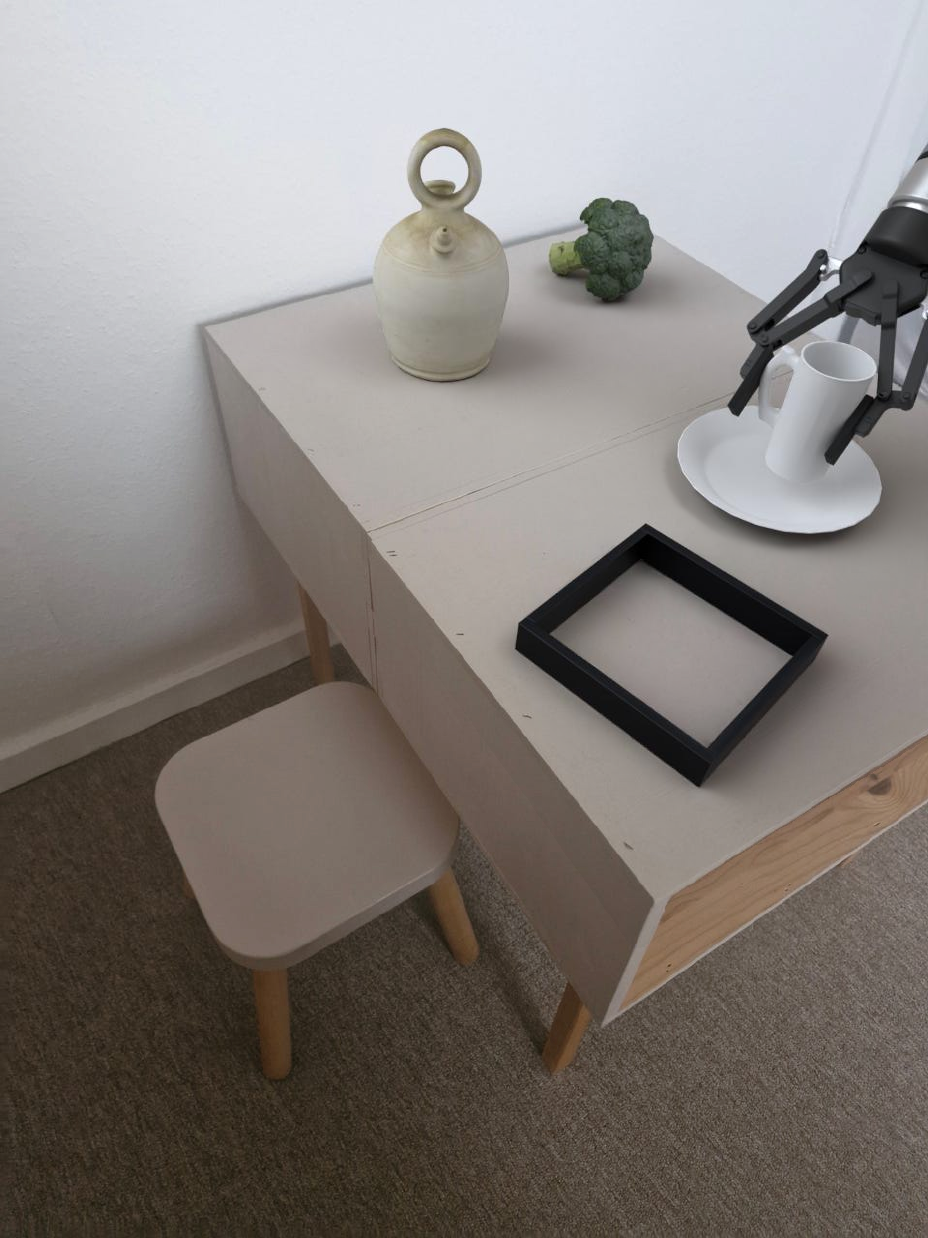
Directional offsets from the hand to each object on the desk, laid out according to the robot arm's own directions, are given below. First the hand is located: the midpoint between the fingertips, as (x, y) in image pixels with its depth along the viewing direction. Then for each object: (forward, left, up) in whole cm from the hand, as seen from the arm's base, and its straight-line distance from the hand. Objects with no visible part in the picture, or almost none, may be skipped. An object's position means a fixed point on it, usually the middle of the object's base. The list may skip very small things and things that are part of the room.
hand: (779, 435), depth 83 cm
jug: (+41, +6, -8) cm, 42 cm away
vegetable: (+39, -22, -8) cm, 45 cm away
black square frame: (-6, +25, -7) cm, 27 cm away
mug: (0, -3, -4) cm, 5 cm away
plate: (0, -3, -8) cm, 8 cm away
